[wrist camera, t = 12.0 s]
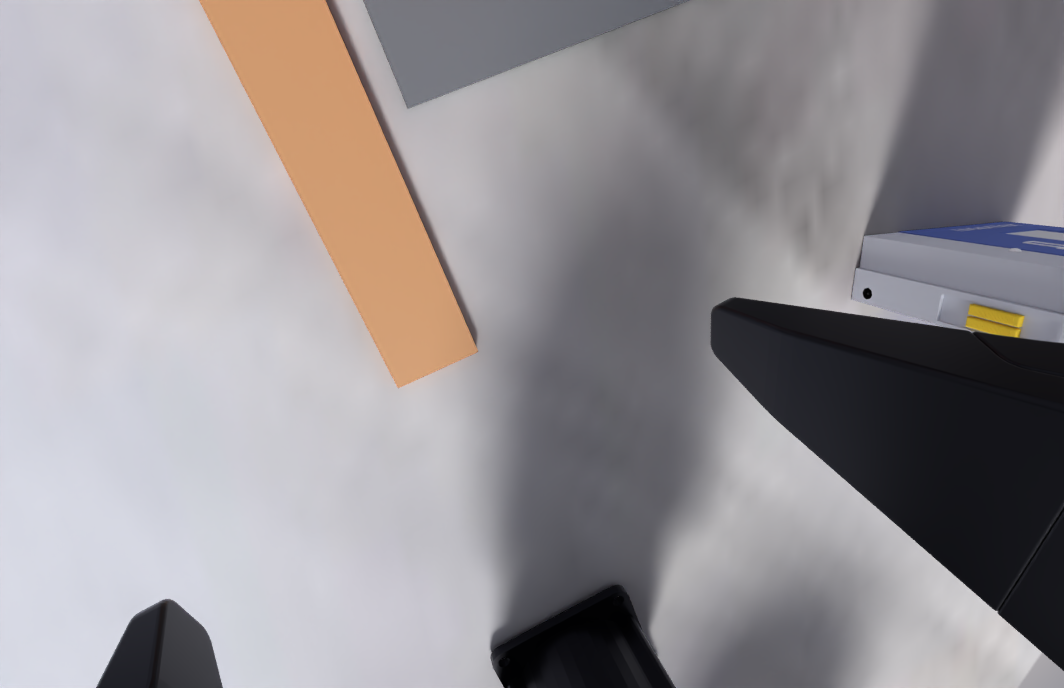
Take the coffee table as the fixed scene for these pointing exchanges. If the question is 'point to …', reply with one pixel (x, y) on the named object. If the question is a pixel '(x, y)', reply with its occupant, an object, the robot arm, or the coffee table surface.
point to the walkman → (970, 277)
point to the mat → (487, 36)
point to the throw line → (345, 177)
